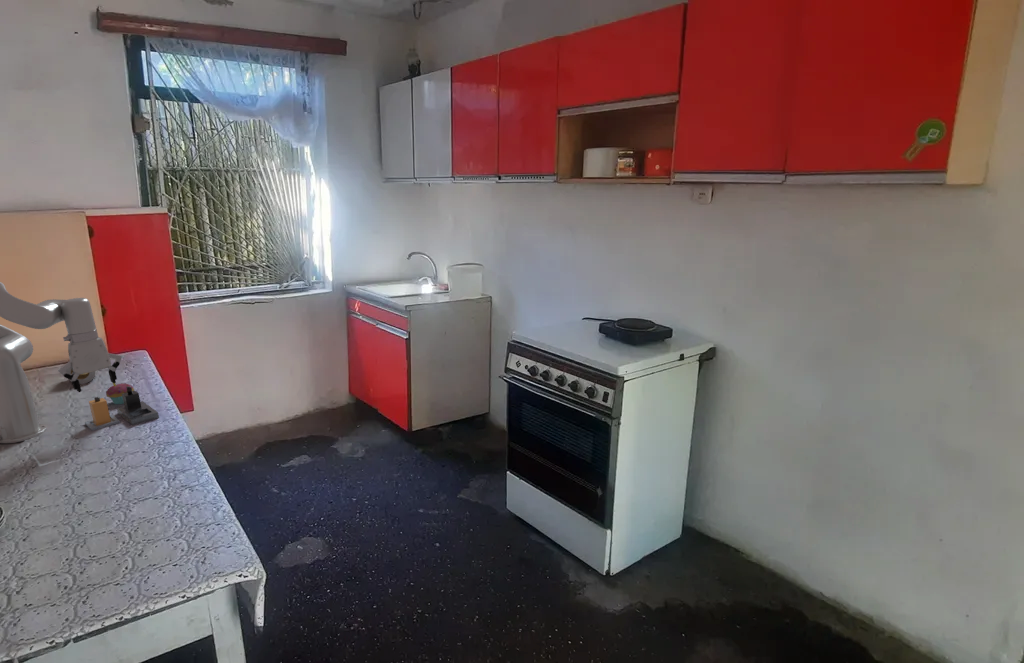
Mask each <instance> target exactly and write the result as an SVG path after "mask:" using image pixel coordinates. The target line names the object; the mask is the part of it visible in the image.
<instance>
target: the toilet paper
mask: <svg viewBox="0 0 1024 663" xmlns="http://www.w3.org/2000/svg"><path fill="white" fill-rule="evenodd" d="M99 371H100V370H97V371H93V372H89V373H84V374H79V376H78V378H77V380H79V383H80V385H83V384H87V383H89V382H91V381H92V380H93V379H94V378H95V376H96V375H97V374H98V372H99ZM65 372H66V373H67V374H70V375H71V374H72V373H73V371H72V368H71V367H70V368H68V369H67V370H66V371H65ZM66 379H67V380H69V381H70V382H71V383H72V380H70V379H68V378H66Z"/></svg>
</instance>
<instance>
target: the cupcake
mask: <svg viewBox="0 0 1024 663" xmlns="http://www.w3.org/2000/svg"><path fill="white" fill-rule="evenodd" d="M112 384H113V385H112V386H110V387H108V388H107V390H106V391H105V394H106V397H108V398H109V399H110V400H111V401H112V403H113V404H114V405H122V404H123V405H124V402H123V397H122V394H123V393H127V388H126V387H128V386H131V388H132V391H135V388H134V387H133V385H132V384H129V383H123V382H122V383H118V384H117V383H112Z"/></svg>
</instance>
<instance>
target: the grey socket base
mask: <svg viewBox="0 0 1024 663" xmlns="http://www.w3.org/2000/svg"><path fill="white" fill-rule="evenodd" d="M131 386H132V385H131ZM131 386H128V387H126V388H127V393H123V394H122V397H123V402H124V403H123V406H120V407H116V411H117V415H119V416H120V417H122V419H124V420H125V421H126V422H128V423H129V424H130V425H131V426H136V425H140V424H143V423H146V422H149V421H153V420H157V419H160V415H159V412H158V411H157V410H156V409H154V408H153V407H151V406H150V405H148V404H147V403H146V402H145V401H143V400H142V401H141V397H140V394H139V392H138V391H136V390H134V391H132V388H131Z"/></svg>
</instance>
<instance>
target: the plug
mask: <svg viewBox="0 0 1024 663" xmlns="http://www.w3.org/2000/svg"><path fill="white" fill-rule="evenodd" d="M88 404H89V408H90V413H91V416H92V417H91V418H92V420H93V422H94V424H95V425H96V426H99V425H102V424H106V423H109V422H111V419H110V415H111V414H110V411H109V407H108V406H109V405H108V401H107V399H105V398H104V397H101V398H100V396H95V397H93V399H92V400H89V401H88Z"/></svg>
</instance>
